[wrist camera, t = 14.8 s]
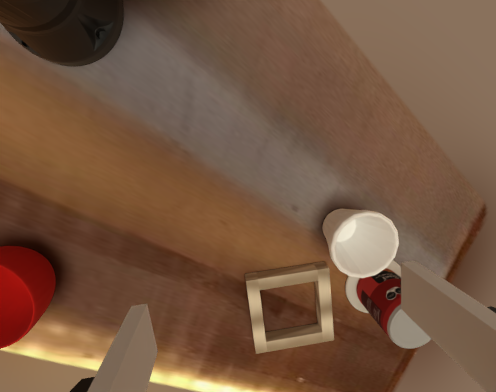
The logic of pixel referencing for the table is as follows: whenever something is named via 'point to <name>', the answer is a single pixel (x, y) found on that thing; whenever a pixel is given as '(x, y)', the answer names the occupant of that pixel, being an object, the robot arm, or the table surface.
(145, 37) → the table surface
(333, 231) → the cup
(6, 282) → the ceramic cup
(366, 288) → the canned food
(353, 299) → the coaster
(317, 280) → the holder
